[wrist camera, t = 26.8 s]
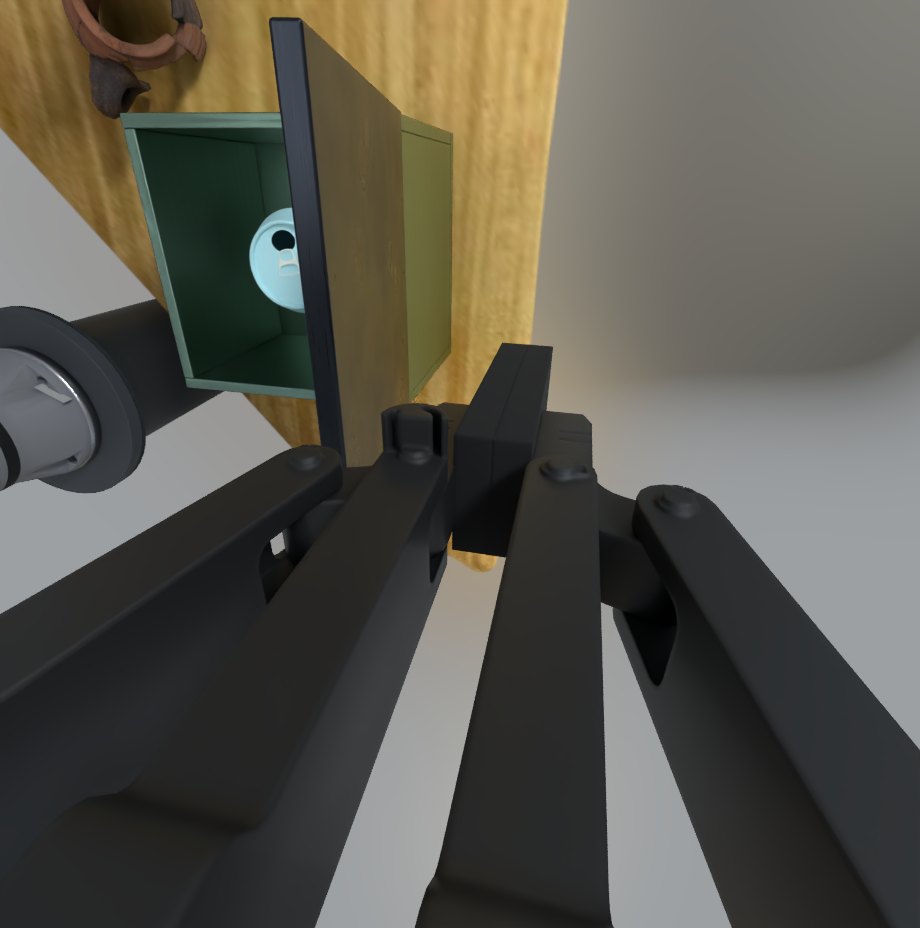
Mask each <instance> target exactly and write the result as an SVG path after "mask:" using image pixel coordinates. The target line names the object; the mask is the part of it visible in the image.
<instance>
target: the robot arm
mask: <svg viewBox="0 0 920 928" xmlns="http://www.w3.org/2000/svg"><path fill="white" fill-rule="evenodd" d="M552 351H553V347H551V346H538V345H525V344H511V343H502V344H501V346H500V348H499V350H498V352H497V354H496V356H495V358H494V359H493V361H492V363H491V365H490V367H489V369H488V371H487V373H486V375H485V376H484V378H483V380H482V382H481V384H480V386H479V388H478V390H477V392H476V393H475V395H474V397H473V399H472V401H471V403H470V405H464V404H454V403H442V404H440V405H438V406H434V405H428V404H419V403H409V404H401V405H396V406H393V407H390V408H387V409H386V410H384V411H383V412H382V413H381V422H382V438H383V452H382V453H381V455H380V456H379V457H378V459H377V460H376V461H375V463H374V464H373V465H372V466H362V467H342V462H341V455H340V454H339V453H338V452H337V451H336V450H334V449H332V448H329V447H324V446H319V445H310V446H309V445H302V446H300V447H296V448H292V449H289V450H286V451H284V452H282V453H280V454H278V455H276V456H274V457H273V458H271V459H269V460H268V461H266V462H264V463H262V464H260V465H259V466H257V467H255V468H253V469H252V470H250V471H248V472H246V473H245V474H243V475H241V476H240V477H238V478H236V479H234V480H233V481H231V482H229V483H227V484H226V485H224V486H222V487H221V488H219V489H217V490H215V491H213V492H212V493H210V494H208V495H207V496H205V497H203V498H202V499H200V500H198V501H196V502H194V503H193V504H191V505H189V506H187V507H186V508H184V509H182V510H181V511H179V512H177V513H175V514H174V515H172V516H170V517H168V518H167V519H165V520H163V521H161V522H160V523H158V524H156V525H154V526H153V527H151V528H149V529H147V530H146V531H144V532H142V533H141V534H139V535H137V536H135V537H134V538H132V539H130V540H128V541H127V542H125V543H123V544H122V545H120V546H118V547H116V548H114V549H113V550H111V551H109V552H108V553H106V554H104V555H103V556H101V557H99V558H97V559H95V560H94V561H92V562H90V563H88V564H87V565H85V566H83V567H81V568H80V569H78V570H76V571H75V572H73V573H71V574H69V575H68V576H66V577H64V578H62V579H61V580H59V581H57V582H55V583H54V584H52V585H50V586H49V587H47V588H45V589H44V590H42V591H40V592H38V593H37V594H35V595H33V596H31V597H30V598H28V599H26V600H24V601H22V602H21V603H19V604H18V605H16V606H14V607H12V608H10V609H9V610H7V611H5V612H3V613H2V614H0V928H315V925H316V923H317V920H318V917H319V915H320V912H321V909H322V906H323V904H324V900H325V898H326V895H327V893H328V890H329V887H330V884H331V882H332V879H333V876H334V873H335V871H336V868H337V865H338V862H339V859H340V857H341V854H342V851H343V848H344V846H345V843H346V840H347V837H348V835H349V832H350V829H351V826H352V824H353V821H354V818H355V815H356V813H357V810H358V807H359V804H360V802H361V799H362V796H363V793H364V791H365V788H366V785H367V782H368V780H369V777H370V774H371V771H372V769H373V766H374V763H375V760H376V758H377V755H378V752H379V749H380V746H381V744H382V741H383V738H384V736H385V733H386V730H387V727H388V725H389V722H390V719H391V716H392V714H393V711H394V708H395V705H396V703H397V700H398V697H399V694H400V691H401V689H402V686H403V683H404V681H405V678H406V675H407V672H408V670H409V667H410V664H411V661H412V659H413V656H414V653H415V650H416V648H417V645H418V642H419V639H420V637H421V634H422V631H423V628H424V626H425V623H426V620H427V617H428V615H429V612H430V609H431V606H432V604H433V601H434V598H435V595H436V593H437V590H438V587H439V584H440V582H441V578H442V576H443V573H444V571H445V568H446V565H447V543H448V541H449V538H450V536H451V533H452V550H459V551H466V552H472V553H479V554H486V555H493V556H499V557H506V560H505V565H504V569H503V574H502V578H501V583H500V588H499V592H498V597H497V601H496V606H495V610H494V615H493V619H492V624H491V629H490V633H489V637H488V642H487V646H486V651H485V655H484V660H483V664H482V669H481V673H480V678H479V683H478V687H477V691H476V696H475V701H474V706H473V710H472V714H471V719H470V723H469V728H468V732H467V737H466V741H465V746H464V750H463V755H462V760H461V764H460V768H459V773H458V777H457V782H456V786H455V791H454V795H453V800H452V804H451V809H450V814H449V818H448V823H447V827H446V832H445V837H444V841H443V845H442V850H441V854H440V858H439V862H438V866H437V869H436V872H435V875H434V877H433V879H432V880H431V882H430V883H429V885H428V886H427V888H426V892H425V895H424V898H423V901H422V904H421V907H420V910H419V914H418V917H417V921H416V925H415V928H614V927H613V925H612V921H611V914H610V904H609V884H608V850H607V849H608V848H607V813H606V777H605V742H604V707H603V668H602V634H601V633H602V632H601V602H602V603H604V604H606V605H609V606H611V607H613V618H614V621H615V624H616V627H617V629H618V632H619V634H620V637H621V640H622V642H623V645H624V647H625V650H626V653H627V655H628V658H629V661H630V663H631V666H632V668H633V671H634V674H635V676H636V679H637V681H638V684H639V687H640V689H641V692H642V694H643V697H644V700H645V702H646V705H647V708H648V710H649V713H650V715H651V718H652V720H653V723H654V726H655V729H656V731H657V734H658V736H659V739H660V742H661V744H662V747H663V749H664V752H665V755H666V757H667V760H668V762H669V765H670V768H671V770H672V773H673V775H674V778H675V781H676V783H677V786H678V788H679V791H680V794H681V796H682V799H683V801H684V804H685V807H686V809H687V812H688V814H689V817H690V820H691V822H692V825H693V828H694V830H695V833H696V835H697V838H698V841H699V843H700V846H701V849H702V851H703V854H704V856H705V859H706V862H707V864H708V867H709V869H710V872H711V874H712V877H713V880H714V882H715V885H716V888H717V890H718V893H719V895H720V898H721V901H722V903H723V906H724V909H725V911H726V913H727V916H728V919H729V922H730V924H731V927H732V928H920V750H919V749H918V747H917V746H916V745H915V744H914V743H913V741H912V740H911V739H910V738H909V737H908V735H907V734H906V733H905V732H904V731H903V729H902V728H901V727H900V726H899V725H898V723H897V722H896V721H895V720H894V719H893V717H892V716H891V715H890V714H889V712H888V711H887V710H886V709H885V708H884V706H883V705H882V704H881V703H880V702H879V701H878V699H877V698H876V697H875V696H874V694H873V693H872V692H871V691H870V690H869V688H868V687H867V686H866V685H865V684H864V682H863V681H862V680H861V679H860V678H859V676H858V675H857V674H856V673H855V672H854V670H853V669H852V668H851V667H850V666H849V664H848V663H847V662H846V661H845V660H844V659H843V657H842V656H841V655H840V654H839V652H838V651H837V650H836V649H835V648H834V646H833V645H832V644H831V643H830V642H829V640H827V638H826V637H825V636H824V635H823V633H822V632H821V631H820V630H819V629H818V627H817V626H816V625H815V624H814V622H813V621H812V620H811V619H810V618H809V616H808V615H807V614H806V613H805V612H804V610H803V609H802V608H801V607H800V605H799V604H797V602H796V601H795V600H794V598H793V597H792V596H791V595H790V594H789V592H788V591H787V590H786V589H785V587H784V586H783V585H782V584H781V583H780V581H779V580H778V579H777V578H776V577H775V575H774V574H773V573H772V572H771V571H770V570H769V568H768V567H767V566H766V565H765V563H764V562H763V561H762V560H761V559H760V557H759V556H758V555H757V554H756V553H755V552H754V550H753V549H752V548H751V547H750V545H749V544H748V543H747V542H746V541H745V539H744V538H743V537H742V536H741V535H740V533H739V532H738V531H737V530H736V529H735V527H734V526H733V525H732V524H731V523H730V521H729V520H728V519H727V518H726V517H725V515H724V514H723V513H722V512H721V511H720V509H719V508H718V507H717V506H716V505H715V504H714V503H713V502H712V501H710V500H709V499H708V498H707V497H706V496H704V495H702V494H700V493H697V492H695V491H694V490H692V489H689V488H686V487H685V488H683V486H678V485H654V486H649V487H647V488H644V489H642V490H641V491H640V492H639V494H638V496H637V498H636V500H632V499H629V498H626V497H623V496H620V495H617V494H614V493H612V492H610V491H609V490H607V489H605V488H603V487H602V486H601V485H600V484H598V482H597V474H596V472H595V469H594V468H593V467H592V424H591V423H590V422H589V421H588V419H586V417H585V416H584V415H581V414H572V413H562V412H551V411H546V409H547V398H548V389H549V380H550V369H551V361H552ZM101 440H102V432H101V425H100V421H99V418H98V415H97V412H96V410H95V408H94V405H93V403H92V402H91V400H90V398H89V397H88V395H87V393H86V392H85V391H84V389H83V388H82V386H81V385H80V384H79V383H78V382H77V380H76V379H75V378H74V377H73V376H72V375H71V374H70V373H69V372H68V371H67V370H65V369H64V368H63V367H62V366H61V365H59V364H58V363H57V362H55V361H54V360H52V359H51V358H49V357H48V356H46V355H44V354H42V353H40V352H38V351H35V350H32V349H30V348H26V347H21V346H5V347H1V348H0V491H2V490H4V489H6V488H8V487H9V486H11V485H13V484H15V483H18V482H24V481H29V480H34V479H39V478H44V477H49V476H54V475H59V474H64V473H68V472H70V471H74V470H76V469H78V468H80V467H82V466H84V465H85V464H87V463H89V462H90V461H92V460H93V459H94V458H95V456H96V455H97V453H98V452H99V449H100V446H101ZM281 532H282V533H283V539H284V544H285V549H284V550H283V551H281V552H280V553H278V554H276V555H274V554H273V553H272V548H271V543H270V540H271V539H273V538H274V537H275V536H277V535H278V534H279V533H281Z"/></svg>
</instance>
